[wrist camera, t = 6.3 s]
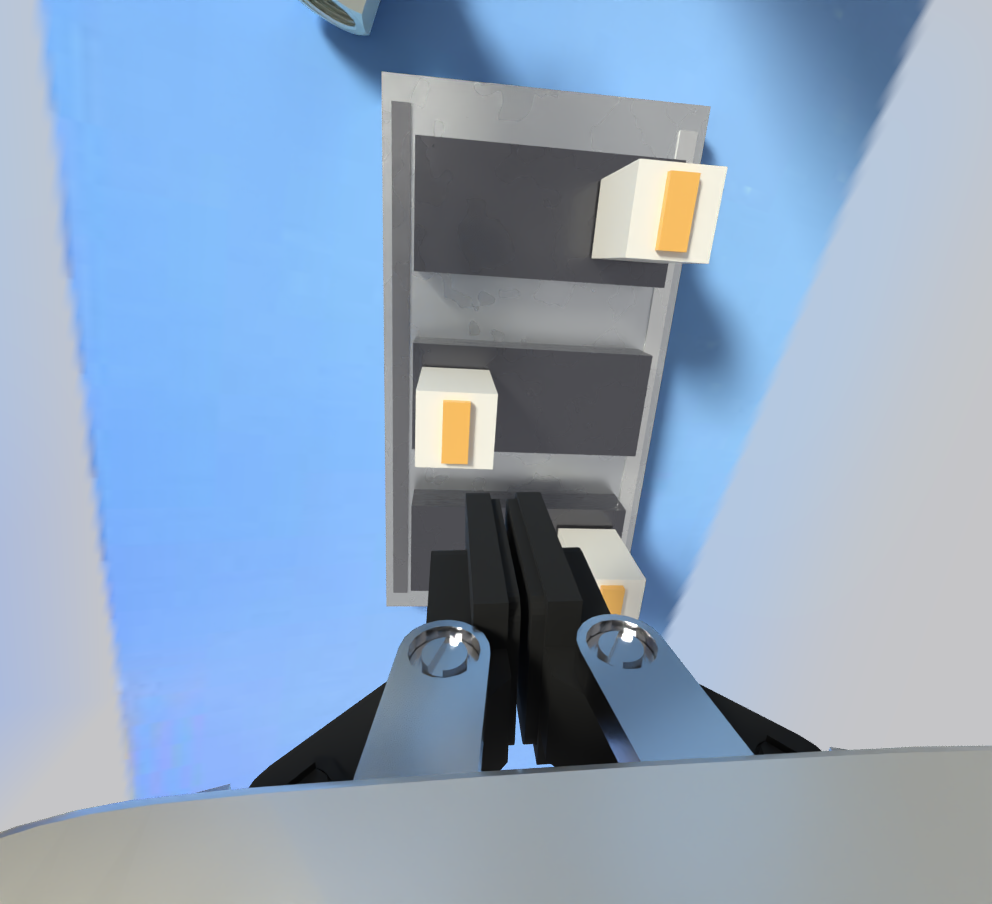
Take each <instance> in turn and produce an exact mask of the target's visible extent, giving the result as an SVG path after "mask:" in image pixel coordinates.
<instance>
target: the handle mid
mask: <svg viewBox="0 0 992 904" xmlns="http://www.w3.org/2000/svg"><path fill="white" fill-rule="evenodd" d="M497 400H498V393H497V390H496V388H495V385H494V382H493V379H492V376H491V374H490V371H489V370H478V369H458V368H437V367H422V369H421V373H420V377H419V381H418V384H417V388H416V420H415V467H430V468H464V469H493V458H494V444H495V429H496V415H497Z"/></svg>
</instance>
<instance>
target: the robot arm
mask: <svg viewBox="0 0 992 904" xmlns="http://www.w3.org/2000/svg"><path fill="white" fill-rule="evenodd" d="M516 704H517V710H518V717H519V723H520V730H521V737H522V742H523V744H533V746H534V752H535V757H536V763H537V765H541V764H552V765H553V766H555V767H546V768H530V769H514V770H501V769H502V768H503V767H504V765H505V764H506V763H507V762H508V745H514V743H515V724H516ZM0 904H992V746H938V747H937V746H932V747H901V748H883V749H861V750H846V749H840V748H833V747H830V749H829V751H821V750H820V749H819V748H818V747H817V746H816V745H814V744H812V743H811V742H809V741H808V740H806V739H804V738H803V737H801V736H800V735H798V734H796V733H794V732H792V731H790V730H788V729H786V728H784V727H782V726H780V725H778V724H776V723H774V722H773V721H770V720H768V719H767V718H765V717H762V716H760V715H759V714H757V713H755V712H753V711H751V710H749V709H747V708H745V707H743V706H741V705H739V704H737V703H735V702H733V701H731V700H729V699H728V698H726V697H724V696H722V695H720V694H718V693H716V692H714V691H712V690H710V689H708V688H706V687H704V686H702V685H700V684H698V682H697V681H696V680H695V679H694V677H693V676H692V675H691V673H690V672H689V671H688V670H687V668H686V667H685V666H684V665H683V663H682V662H681V661H680V659H679V658H678V657H677V656H676V654H675V653H674V652H673V650H672V649H671V648H670V647H669V645H668V644H667V643H666V642H665V640H664V639H663V638H662V636H661V635H659V634H658V633H657V632H656V631H655V630H654V629H653V628H652V627H650V626H649V625H647V624H645V623H644V622H642V621H640V620H637V619H634V618H632V617H629V616H623V615H617V614H611V613H610V611H609V609H608V607H607V605H606V602H605V600H604V598H603V596H602V594H601V591H600V589H599V587H598V585H597V583H596V580H595V578H594V576H593V574H592V572H591V569H590V567H589V565H588V563H587V561H586V559H585V556H584V554H583V552H582V550H581V549H580V548H579V547H563V548H562V546H561V543H560V541H559V538H558V536H557V533H556V531H555V528H554V526H553V523H552V520H551V518H550V515H549V513H548V510H547V508H546V505H545V503H544V500H543V498H542V495H541V493H540V492H516V493H515V499H506V511H505V523H504V518H503V514H502V509H501V504H500V499H491V496H490V493H466V495H465V550H438V551H431V561H430V576H429V591H428V606H427V621H426V624H423V625H421V626H419V627H418V628H416V629H414V630H412V631H411V632H410V633H409V634H408V635H407V636H406V637H404V639H403V641H402V643H401V644H400V646H399V648H398V651H397V654H396V657H395V660H394V663H393V666H392V669H391V672H390V674H389V677H388V680H387V682H385V683H384V684H383V685H381V686H380V687H379V688H377V689H376V690H374V691H373V692H372V693H370V694H369V695H367V696H366V697H365V698H363V699H362V700H361V701H359V702H358V703H356V704H355V705H354V706H352V707H351V708H349V709H348V710H347V711H345V712H344V713H342V714H341V715H340V716H338V717H337V718H336V719H334V720H333V721H331V722H330V723H329V724H327V725H326V726H324V727H323V728H322V729H320V730H319V731H318V732H316V733H315V734H313V735H312V736H311V737H309V738H308V739H306V740H305V741H304V742H302V743H301V744H299V745H298V746H297V747H295V748H294V749H293V750H291V751H290V752H288V753H287V754H286V755H284V756H283V757H281V758H280V759H279V760H277V761H276V762H275V763H273V764H272V765H270V766H269V767H268V768H267V769H266V770H265V771H264V772H262V773H261V774H260V775H259V776H258V777H257V778H256V779H255V780H254V781H253V782H252V784H251V785H250V787H249V788H242V789H231V787H230V784H228V785H224V786H220V787H216V788H213V789H209V790H205V791H201V792H197V793H192V794H182V795H173V796H164V797H155V798H146V799H136V800H129V801H124V802H119V803H113V804H108V805H103V806H97V807H92V808H86V809H81V810H76V811H72V812H68V813H65V814H61V815H57V816H54V817H50V818H46V819H42V820H39V821H35V822H31V823H28V824H24V825H20V826H16V827H14V828H11V829H8V830H6V831H3V832H0Z"/></svg>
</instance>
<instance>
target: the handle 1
mask: <svg viewBox="0 0 992 904" xmlns="http://www.w3.org/2000/svg"><path fill="white" fill-rule="evenodd" d="M558 538H559V541H560V543H561V546H562V548H563V547H579V548H580V549H581V550H582V552H583V554H584V556H585V559H586V561H587V563H588V565H589V567H590V569H591V572H592V574H593V576H594V578H595V580H596V583H597V585H598V587H599V589H600V591H601V594H602V596H603V598H604V600H605V602H606V605H607V607H608V609H609V611H610V613H611V614H617V615H623V616H629V617H632V618H634V619H637V620H638V619H639V614H640V609H641V604H642V599H643V594H644V589H645V583H646V579H645V577H644V575H643V574H642V572H641V571H640V569H639V567H638V566H637V564H636V562H635V561H634V559H633V558H632V556H631V554H630V553H629V551H628V549H627V548H626V546H625V545H624V543H623V541H622V540H621V538H620V536H619V535H618V533H617V532H616V530H615V529H568V528H558Z"/></svg>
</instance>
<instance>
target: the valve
mask: <svg viewBox="0 0 992 904" xmlns="http://www.w3.org/2000/svg"><path fill="white" fill-rule="evenodd" d="M299 1H300V2H301V3H302V4H303V5H305V6H306V7H307V8H308V9H310V10H311V11H313V12H314V13H315V14H317V15H318V16H320V17H321V18H323V19H324V20H326V21H328V22H329V23H331V24H333V25H335V26H336V27H338V28H340V29H342V30H345V31H347V32H349V33H352V34H356V35H370V31H371V28H372V25H373V22H374V19H375V16H376V13H377V9H378V6H379V3H380V0H299Z"/></svg>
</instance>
